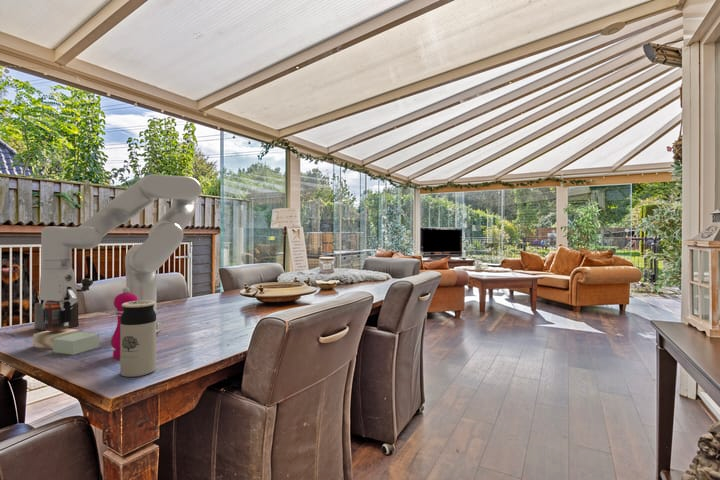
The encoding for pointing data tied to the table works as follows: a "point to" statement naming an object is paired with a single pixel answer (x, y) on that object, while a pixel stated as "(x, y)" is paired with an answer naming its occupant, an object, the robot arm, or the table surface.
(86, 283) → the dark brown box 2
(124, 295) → the pepper mill
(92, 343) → the green block
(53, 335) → the maple block
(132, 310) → the travel mug
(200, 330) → the table surface
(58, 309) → the supplement bottle
